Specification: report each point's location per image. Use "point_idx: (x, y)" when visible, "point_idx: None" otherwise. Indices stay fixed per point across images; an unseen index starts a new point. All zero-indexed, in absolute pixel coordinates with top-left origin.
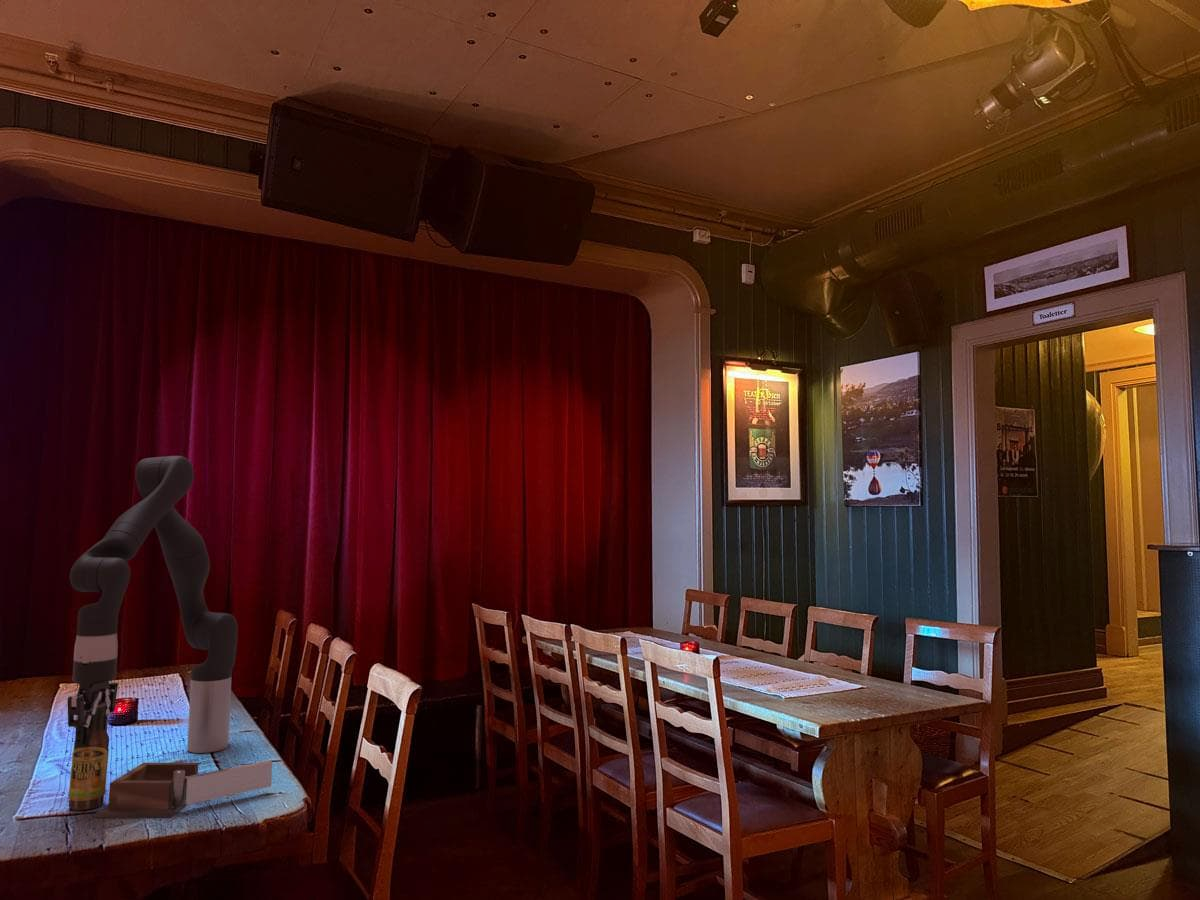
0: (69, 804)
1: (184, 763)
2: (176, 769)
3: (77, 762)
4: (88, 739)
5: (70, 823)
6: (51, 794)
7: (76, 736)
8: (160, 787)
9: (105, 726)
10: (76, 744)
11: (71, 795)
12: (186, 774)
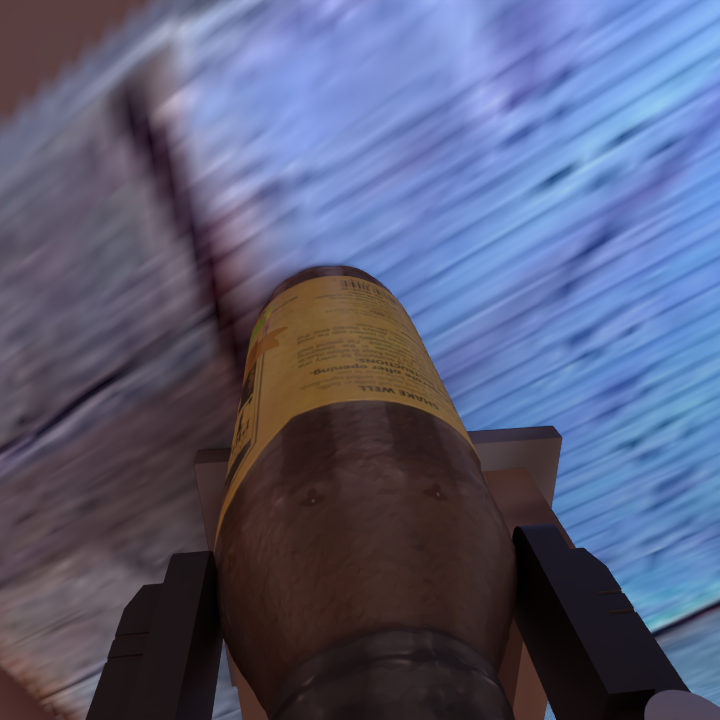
0: (274, 294)
1: (532, 703)
2: (508, 666)
3: (229, 461)
4: (213, 682)
5: (120, 389)
6: (530, 19)
7: (107, 677)
8: None
9: (550, 694)
10: (141, 597)
11: (254, 331)
12: (498, 676)
